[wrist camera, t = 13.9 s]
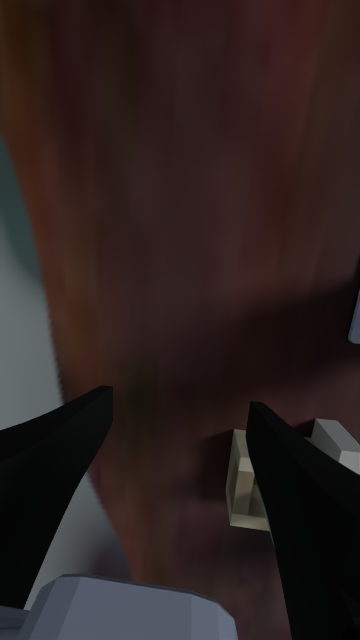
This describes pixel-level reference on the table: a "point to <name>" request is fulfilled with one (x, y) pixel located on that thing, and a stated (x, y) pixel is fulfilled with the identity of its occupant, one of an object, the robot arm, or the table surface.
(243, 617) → the table surface
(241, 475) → the beige hollow square block
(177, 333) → the table surface
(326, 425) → the wall
